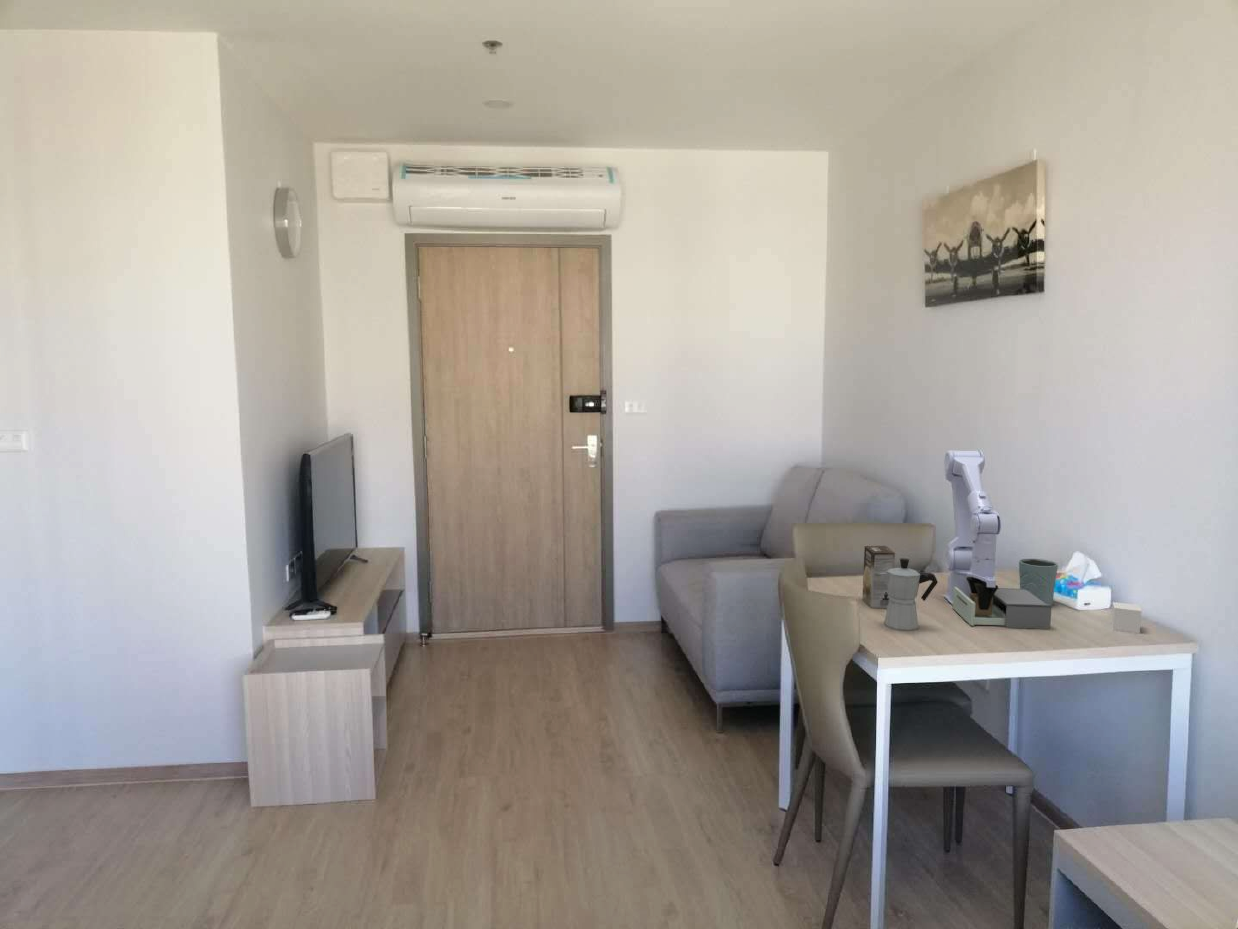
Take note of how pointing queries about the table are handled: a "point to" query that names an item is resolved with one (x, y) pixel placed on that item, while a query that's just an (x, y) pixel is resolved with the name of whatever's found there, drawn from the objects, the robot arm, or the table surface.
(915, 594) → the coffee maker
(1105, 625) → the table surface
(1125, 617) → the beige cube
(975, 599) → the walnut block
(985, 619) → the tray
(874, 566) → the coffee box
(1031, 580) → the green plant pot
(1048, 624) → the grey drawer box
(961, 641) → the table surface
